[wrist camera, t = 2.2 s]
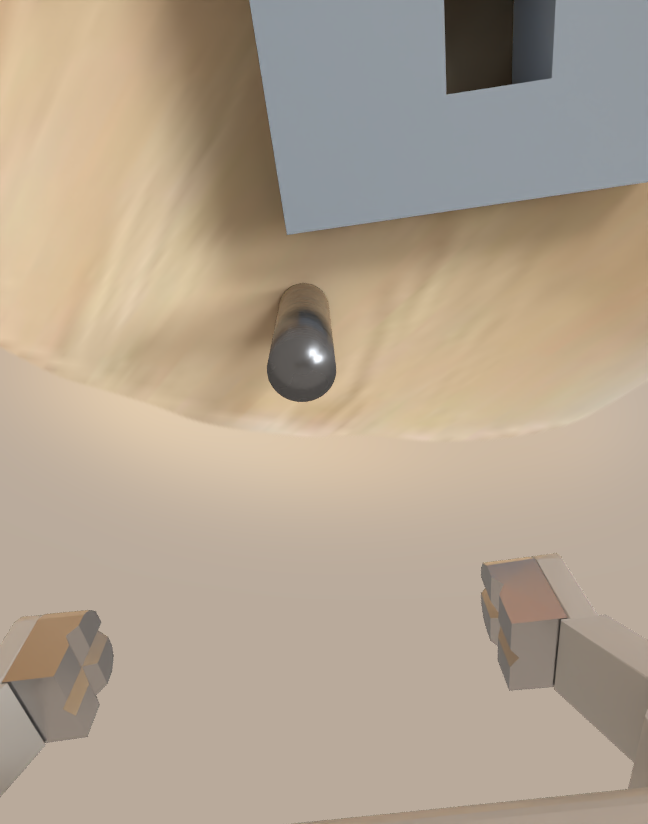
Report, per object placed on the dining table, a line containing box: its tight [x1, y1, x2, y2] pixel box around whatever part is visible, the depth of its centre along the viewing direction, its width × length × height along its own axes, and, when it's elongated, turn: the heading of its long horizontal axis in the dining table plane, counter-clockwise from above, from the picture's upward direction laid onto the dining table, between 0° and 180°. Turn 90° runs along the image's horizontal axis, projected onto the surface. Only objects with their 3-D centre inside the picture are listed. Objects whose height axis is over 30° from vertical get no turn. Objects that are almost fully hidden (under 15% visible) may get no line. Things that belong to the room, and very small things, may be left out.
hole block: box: [249, 0, 648, 235], centre depth 24 cm, size 20×14×5 cm
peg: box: [267, 283, 336, 402], centre depth 27 cm, size 3×3×10 cm
